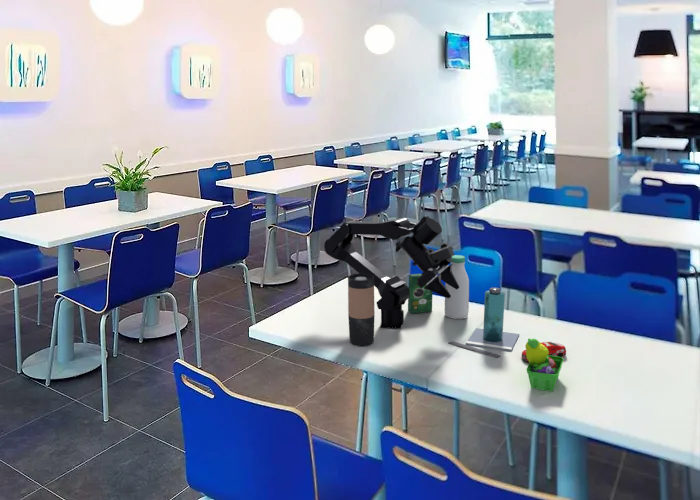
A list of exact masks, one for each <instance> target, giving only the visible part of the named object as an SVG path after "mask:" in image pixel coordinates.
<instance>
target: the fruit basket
mask: <svg viewBox="0 0 700 500" xmlns="http://www.w3.org/2000/svg"><path fill="white" fill-rule="evenodd" d="M541 343H542V342H540V341H539V340H537V339H536V338H528V339H527V342H526V343H525V350H526V357H527V359H528V361H529V362H528V365H527V367H526V373H527V375H528V380H529V384H530V388H531V389H537V390H541V391H549V392H553V391H554V388H555V385H556V383H557V379H558V378H559V376H560V372H561V370H562V366H563V362H564V360H565V359H564V357H558V356H551V355H548V354H549V351H548V349H547V348H546V347H545V346H544V345H542V344H541Z"/></svg>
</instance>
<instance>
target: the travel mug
mask: <svg viewBox="0 0 700 500" xmlns="http://www.w3.org/2000/svg"><path fill="white" fill-rule="evenodd" d="M347 302H348V303H347V304H348V305H347V309H348V314H347V316H348V333H349V334H348V335H349V337H348V338H349V343H350V344H351V345H352V346H354V347H359V348H361V347H369V346H371V345H373V344H374V342H375V317H376V315H375V286H374V276H372V275H370V274H362V273H361V274H359V273H352V274H350V275H348V276H347Z"/></svg>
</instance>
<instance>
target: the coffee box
mask: <svg viewBox="0 0 700 500" xmlns="http://www.w3.org/2000/svg"><path fill="white" fill-rule="evenodd" d="M421 275H422V273H412V274H408V288H409V292H410V295H409V298H408V299H407V312H408V313H409V314H420V313H428V312H429V313H430V312H433V293H434V292H432V291H430V290H427V289H424V287H426V286H427V285H425V286H423V287H422V288H420V287H419V286H418V285H417V279H418V278H419V277H420V276H421Z"/></svg>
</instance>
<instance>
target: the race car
mask: <svg viewBox="0 0 700 500" xmlns="http://www.w3.org/2000/svg"><path fill="white" fill-rule="evenodd" d="M540 343H541V344H542V345H544V346H545V347H546V348H547V349H548V351H549V354H548V355H551V356H558V357H562V358H564V357H566V356H567V348H566V346H564V345H563V344H562V343H560V342H552V341H543V342H540ZM521 359H522V360H523V361H525V362H527V363H529V361H528V359H527V357H526V349H525V350H522V352H521Z"/></svg>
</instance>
